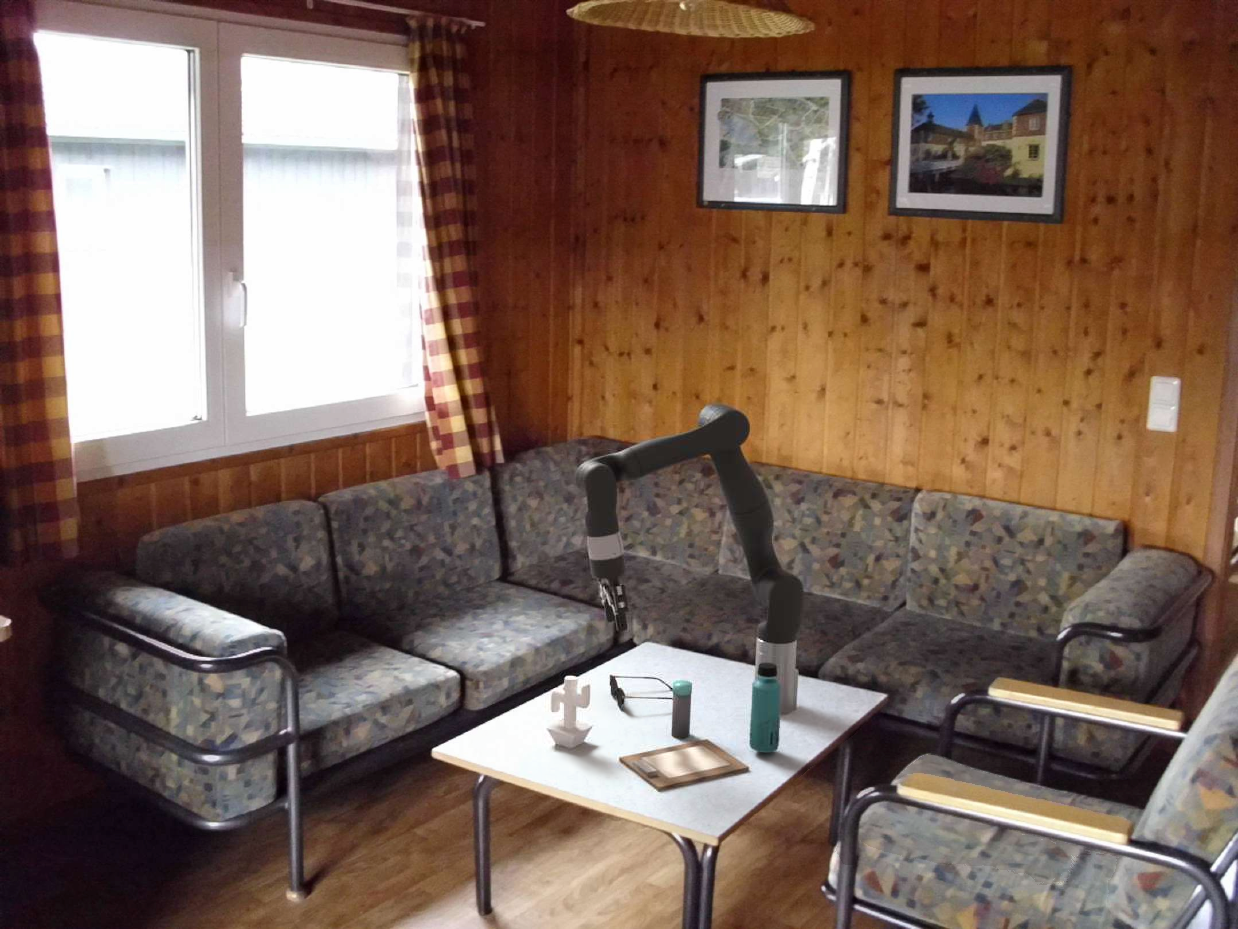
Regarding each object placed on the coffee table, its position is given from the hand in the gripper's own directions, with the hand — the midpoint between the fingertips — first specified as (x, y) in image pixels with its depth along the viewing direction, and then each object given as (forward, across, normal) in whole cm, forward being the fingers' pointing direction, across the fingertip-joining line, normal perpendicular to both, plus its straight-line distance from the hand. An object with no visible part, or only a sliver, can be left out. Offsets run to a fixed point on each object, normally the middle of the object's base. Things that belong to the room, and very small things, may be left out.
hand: (616, 625), depth 291 cm
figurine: (+24, 0, +14) cm, 28 cm away
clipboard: (+28, -16, -6) cm, 33 cm away
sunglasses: (+26, +21, -10) cm, 35 cm away
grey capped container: (+27, -1, -10) cm, 29 cm away
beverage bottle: (+31, -14, -25) cm, 42 cm away
